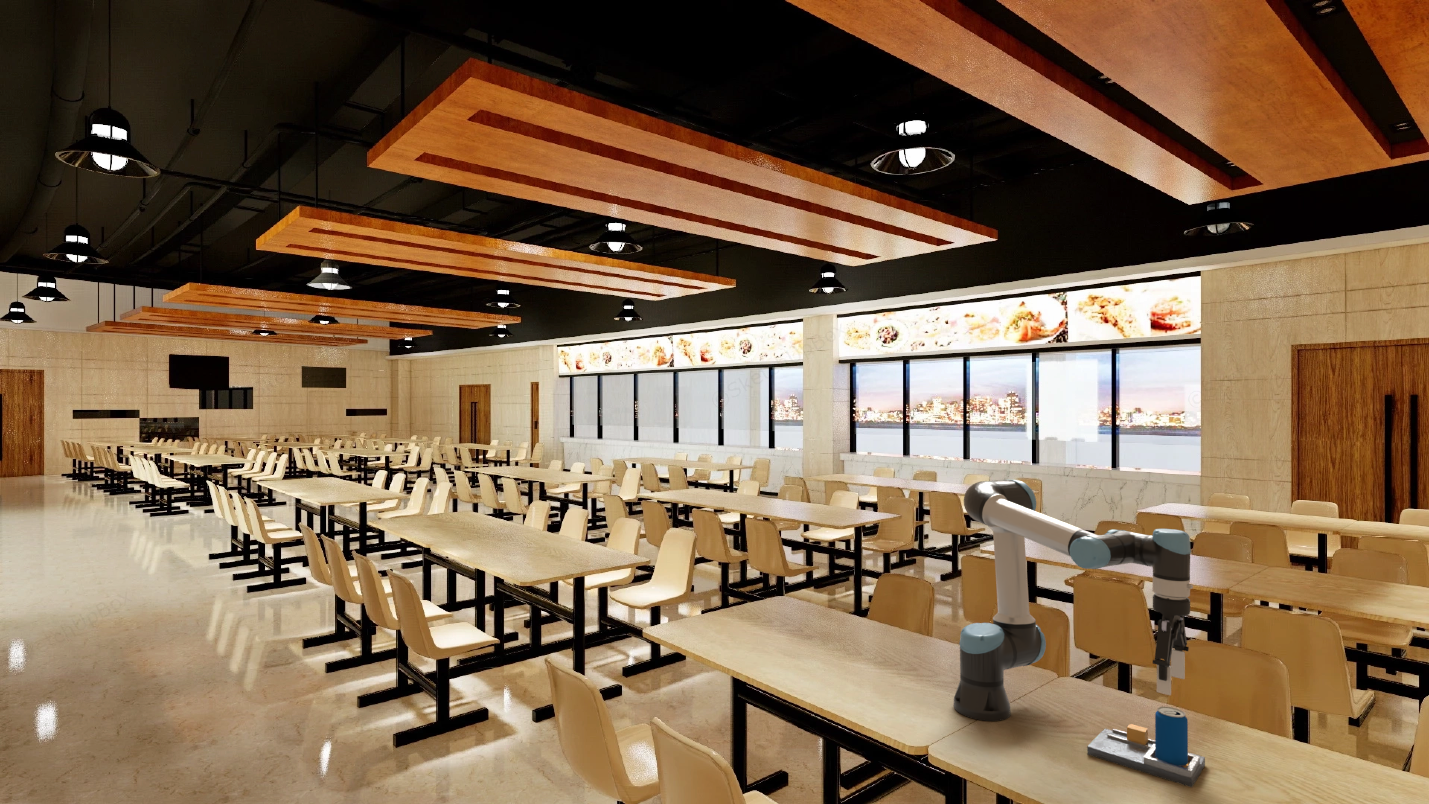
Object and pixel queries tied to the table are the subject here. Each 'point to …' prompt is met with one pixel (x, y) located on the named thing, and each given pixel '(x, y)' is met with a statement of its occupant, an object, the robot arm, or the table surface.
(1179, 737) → the beverage can
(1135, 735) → the block
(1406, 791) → the table surface
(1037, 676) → the table surface
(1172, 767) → the panel
